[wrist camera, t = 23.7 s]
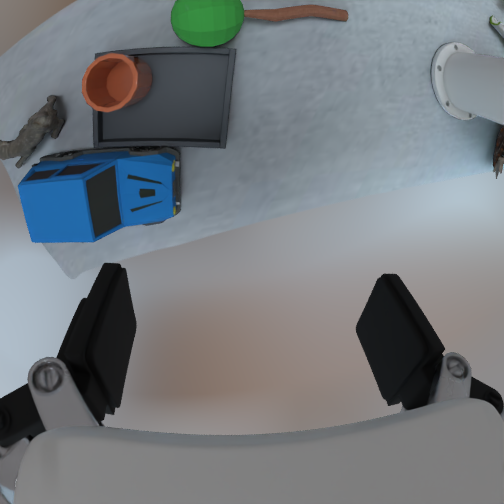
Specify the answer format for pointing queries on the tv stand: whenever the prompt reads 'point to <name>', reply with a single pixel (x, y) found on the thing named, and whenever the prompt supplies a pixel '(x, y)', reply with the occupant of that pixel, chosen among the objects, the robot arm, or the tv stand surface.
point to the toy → (499, 153)
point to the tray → (174, 101)
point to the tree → (232, 18)
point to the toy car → (99, 192)
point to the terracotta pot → (116, 82)
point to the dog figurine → (32, 133)
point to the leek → (497, 25)
